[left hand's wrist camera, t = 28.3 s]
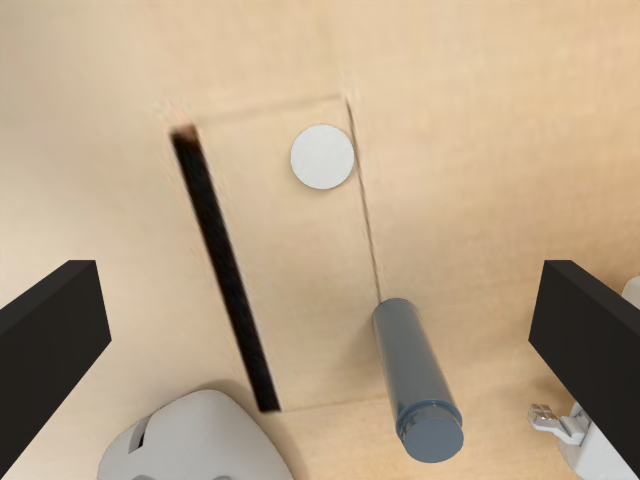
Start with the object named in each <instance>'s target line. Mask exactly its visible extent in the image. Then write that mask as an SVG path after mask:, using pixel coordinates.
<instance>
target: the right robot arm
mask: <svg viewBox="0 0 640 480" xmlns="http://www.w3.org/2000/svg"><path fill="white" fill-rule="evenodd" d="M621 297H623V298H624V299H626V300H627V301H628V302H630V303H631V304H633V305H634V306H635V307H637V308H638V309H640V275H639V276H636V277H634V278H632V279H630V280H629V281H628V282H627V283H626V285H625V288H624V290H623V292H622V295H621ZM527 419H528V421H529V423H530V424H531V426H532V427H533V428H534V429H536V430H540V431H549V432H552V433H553V434H554V435H556V436H557V437H558V438H559V440H558V442H557V447H558V450H559V452H560V453H561V455H562V457H563V458H564V460H565V461H566V463H567V464H568V466H569V467H570V469H571V470H572V471H573V472H574V473H575V474H576V475H577V476H578V477H579V478H581V479H583V480H639V479H638V477H637V476H636V475H635V474H634V472H633V471H632V470H631V469H630V467H629V466H628V465H627V464H626V462H625V461H624V460H623V459H622V457H621V456H620V455H619V454H618V452H617V451H616V450H615V449H614V447H613V446H612V445H611V444H610V442H609V441H608V440H607V439H606V437H605V436H604V435H603V434H602V432H601V431H600V430H599V429H598V427H597V426H596V425H595V424H594V422H593V421H592V420H591V418H590V417H589V416H588V415H587V413H586V412H585V411H584V410H583V408H582V407H581V406H580V405H579V403H578V402H577V401H575V403H574V405H573V408H572V410H571V412H570V415H569V416H561V417H560V419H559V420H560V421H559V420H557V418H556V417H555V415H554V414H552V411H551V409H550V408H549V406H548V405H539V406H538V405H537V404H533V405H531V408H530V410H529V413H528V416H527Z"/></svg>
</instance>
